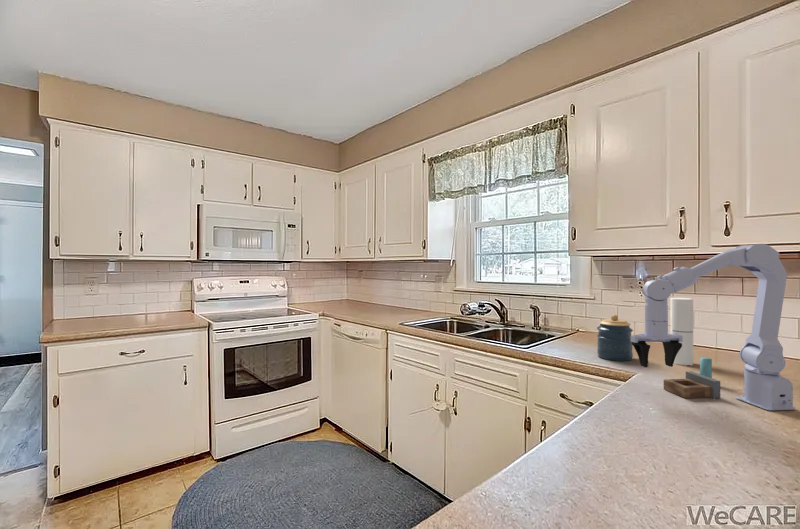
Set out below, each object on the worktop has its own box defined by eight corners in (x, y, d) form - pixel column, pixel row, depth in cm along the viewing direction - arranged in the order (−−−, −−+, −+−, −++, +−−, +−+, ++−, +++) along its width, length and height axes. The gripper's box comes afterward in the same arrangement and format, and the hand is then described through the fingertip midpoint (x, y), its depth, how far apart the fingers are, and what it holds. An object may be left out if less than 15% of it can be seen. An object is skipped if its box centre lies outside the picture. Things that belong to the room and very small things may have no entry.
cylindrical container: (683, 366, 146) (683, 299, 146) (666, 361, 153) (665, 298, 153) (698, 364, 148) (697, 299, 148) (680, 360, 155) (679, 297, 155)
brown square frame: (710, 397, 112) (710, 386, 112) (684, 398, 112) (684, 387, 112) (688, 388, 120) (688, 378, 120) (663, 389, 120) (663, 379, 120)
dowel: (714, 384, 124) (714, 359, 124) (705, 384, 124) (705, 359, 124) (706, 381, 127) (706, 357, 127) (697, 381, 127) (697, 357, 127)
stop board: (720, 398, 111) (720, 381, 111) (713, 398, 111) (713, 381, 111) (691, 387, 121) (691, 371, 121) (685, 387, 121) (685, 371, 121)
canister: (640, 359, 157) (640, 315, 156) (618, 363, 151) (618, 317, 151) (611, 352, 168) (610, 311, 168) (589, 355, 163) (589, 313, 163)
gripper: (670, 318, 120) (670, 362, 120) (624, 318, 119) (624, 363, 119) (687, 321, 113) (688, 368, 113) (639, 322, 112) (639, 369, 112)
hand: (656, 366), depth 116 cm, fingers open, 7 cm apart
